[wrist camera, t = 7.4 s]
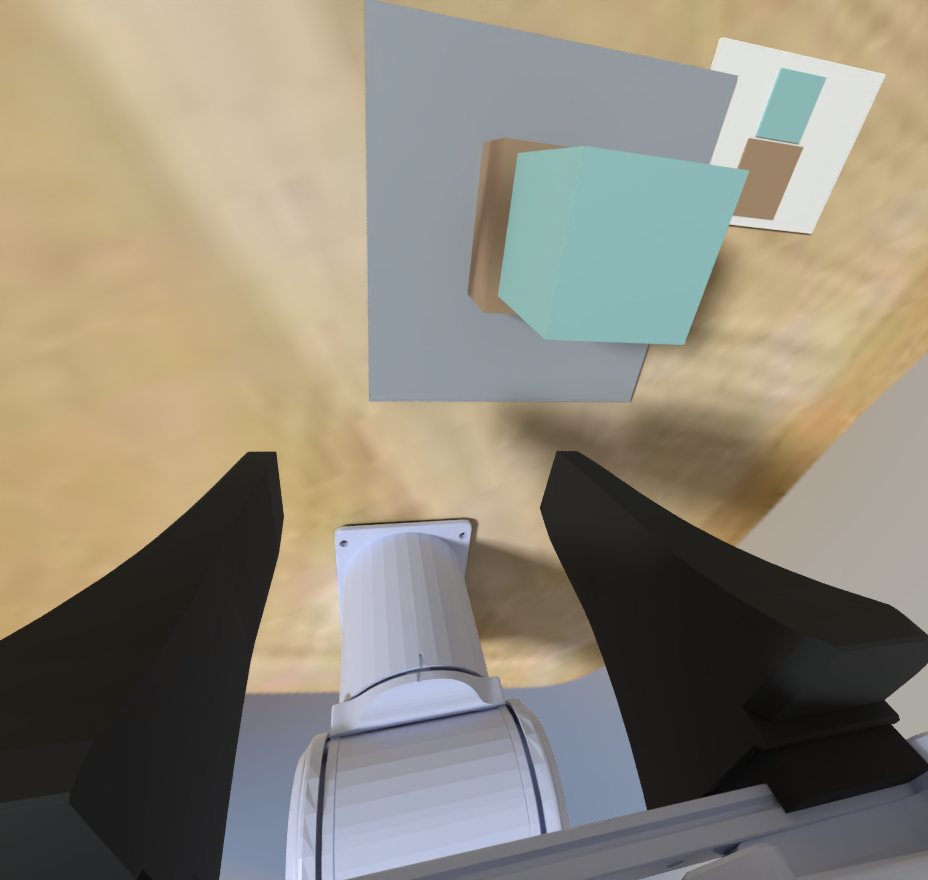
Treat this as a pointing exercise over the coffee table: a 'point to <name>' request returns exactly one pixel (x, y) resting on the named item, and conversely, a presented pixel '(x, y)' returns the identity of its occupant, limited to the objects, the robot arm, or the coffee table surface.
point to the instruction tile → (788, 130)
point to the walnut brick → (494, 219)
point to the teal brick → (613, 243)
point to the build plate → (456, 190)
